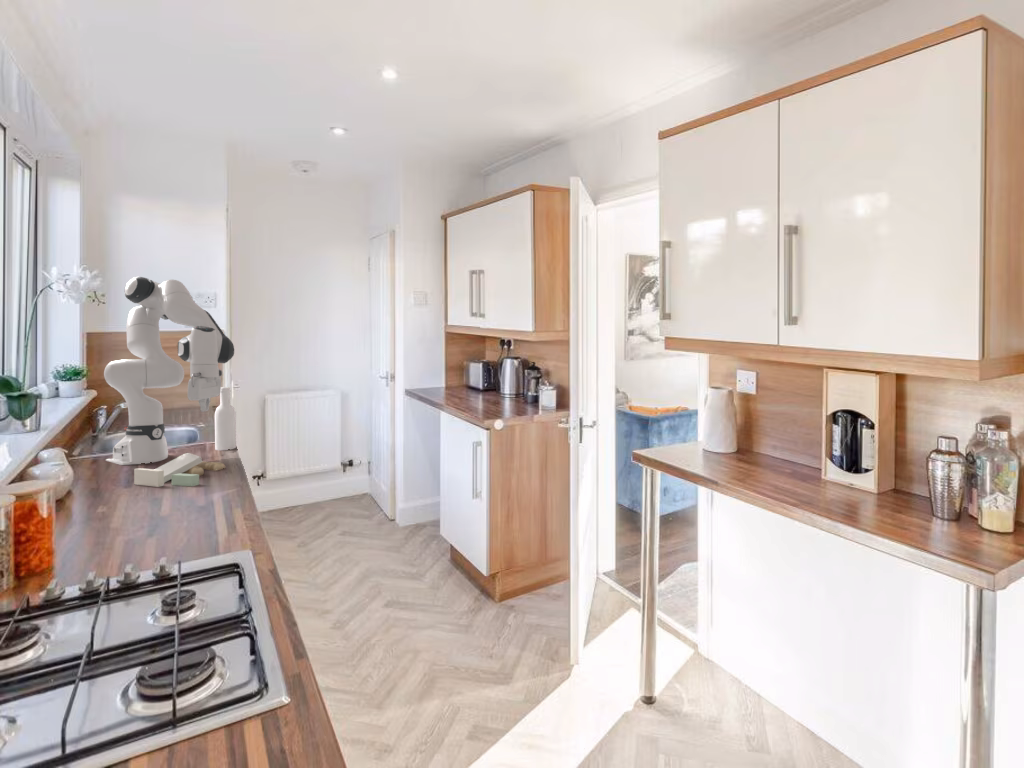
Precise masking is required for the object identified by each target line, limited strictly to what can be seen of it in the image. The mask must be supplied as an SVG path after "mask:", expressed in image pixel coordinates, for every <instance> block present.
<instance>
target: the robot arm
mask: <svg viewBox="0 0 1024 768" xmlns="http://www.w3.org/2000/svg"><path fill="white" fill-rule="evenodd" d="M124 296H125V297H126V299H127V300H128V301H130V302H132V303H133V304H137V305H138V306H135V307H133V308H131V309H130V310H129V312H128V316H127V319H126V327H125V328H126V331H125V332H126V347H127V350H128V351H129V352H130V353H131V354H132V355H133V356H135V357H137V358H138V359H136V358H135V359H134V358H132V359H131V358H129V359H127V358H125V359H119V360H113V361H109V363H107V364H106V366H105V368H104V371H103V377H104V380H105V382H106V384H107V385H109V387H111V388H114V390H116V391H117V392H118V393H119V394H121V396H122V398H123V399H124V400H125V403H126V406H127V412H128V414H127V415H128V425H127V426H125V427H124V431H125V436H123V438H122V439H121V440H119V441H118V442H117V443H116V444H115V445H114V446H113V448H112V458H106V459H105V461H106V462H108V463H109V462H110V463H112V464H116V465H120V466H130V465H142V464H141V463H145V464H151V463H150V462H152V463H156V462H161V461H163V460H166V459H168V457H169V452H168V451H169V450H168V443H167V437H166V436H165V435H164V434H165V430H166V427H165V423H164V406H163V404H162V402H161V401H160V400H158V399H157V398H154V397H151V396H149V395H147V394H145V392H144V389H166V388H172V387H177V386H179V385H181V383H182V382H184V381H183V380H184V378H185V370H184V367H183V366H182V364H181V363H180V362H179V361H177V360H175V359H174V358H172V357H170V356H169V355H168V354H167V353H166V351H164V349H163V347H162V342H161V335H160V333H161V332H160V325H159V324H160V320H169V321H171V322H173V323H174V324H177V325H182V326H187V327H191V331H190V334H187V336H183V337H182V338H180V339H179V340H178V342H177V356H178V357H179V358H180V359H181V360H182V361H184V362H188V363H189V369H190V370H189V371H190V372H189V373H190V375H189V377H190V378H189V380H188V383H187V399H188V400H189V401H198V405H199V407H200V412H207V411H209V409H210V403H211V398H217V397H220V392H221V387H222V378H221V377H222V376H223V371H222V369H220V368H219V364H226V363H228V362H229V361H230V360H232V358H233V357H234V356H235V355H234V354H235V345H234V343H233V341H232V340H231V339H230V338H229V337H228V336H227V335H226V334H225V332H224V331H223V330H222V329H221V327H220V326H219V324H218V323H217V322H216V321H215V319H214V317H213V316H212V315H211V314H210V313H209V312H208V311H206V310H205V309H203V308H202V307H201V306H200V305H198V304H197V303H196V302H195V300H194V299H193V298H192V295H191V293H190V292H189V290H188V288H187V287H186V286H185V284H184V283H183V282H181V281H180V280H177V279H167V280H165V281H163V282H162V283H159V282H157V281H154V280H152V279H149V278H147V277H143V276H134V277H132V278H130V279H129V280H128V281H127V282H126V283H125V287H124ZM139 358H140V359H139Z"/></svg>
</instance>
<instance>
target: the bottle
mask: <svg viewBox="0 0 1024 768" xmlns="http://www.w3.org/2000/svg"><path fill="white" fill-rule="evenodd" d="M219 403H220V404H219V405H218V406H217V407H216V409H215V412H214V450H215V451H229V450H228V449H230V450H233V449H236V448H237V411H236V409H235V407H234V406H233V405H231V387H227V386H225V387H223V386H221V392H220V395H219Z"/></svg>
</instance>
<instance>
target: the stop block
mask: <svg viewBox="0 0 1024 768" xmlns="http://www.w3.org/2000/svg"><path fill="white" fill-rule="evenodd" d="M155 469H156V468H155ZM155 469H154V468H145V467H144V468H143V467H139V468H134V470H133V474H134V476H133V479H134V482H133V483H134V485H137V486H144V487H145V486H147V487H154V488H160V487H164V486H165V483H164V470H155Z"/></svg>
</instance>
